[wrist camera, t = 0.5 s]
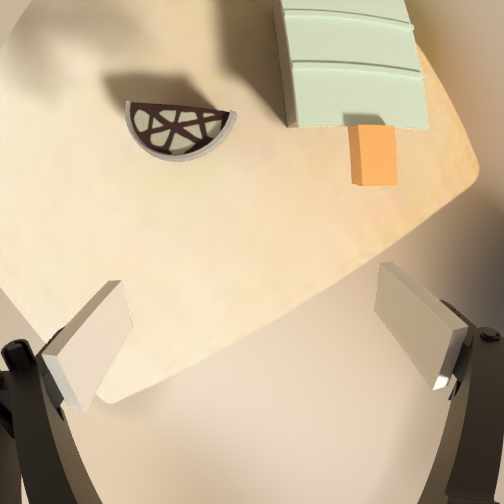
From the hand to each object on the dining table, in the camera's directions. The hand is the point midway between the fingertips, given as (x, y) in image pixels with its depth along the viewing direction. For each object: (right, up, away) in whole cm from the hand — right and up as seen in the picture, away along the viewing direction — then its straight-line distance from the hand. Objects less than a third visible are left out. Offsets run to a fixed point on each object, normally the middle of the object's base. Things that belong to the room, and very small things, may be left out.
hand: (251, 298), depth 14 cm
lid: (+11, +22, +11) cm, 27 cm away
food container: (-8, +17, +23) cm, 30 cm away
